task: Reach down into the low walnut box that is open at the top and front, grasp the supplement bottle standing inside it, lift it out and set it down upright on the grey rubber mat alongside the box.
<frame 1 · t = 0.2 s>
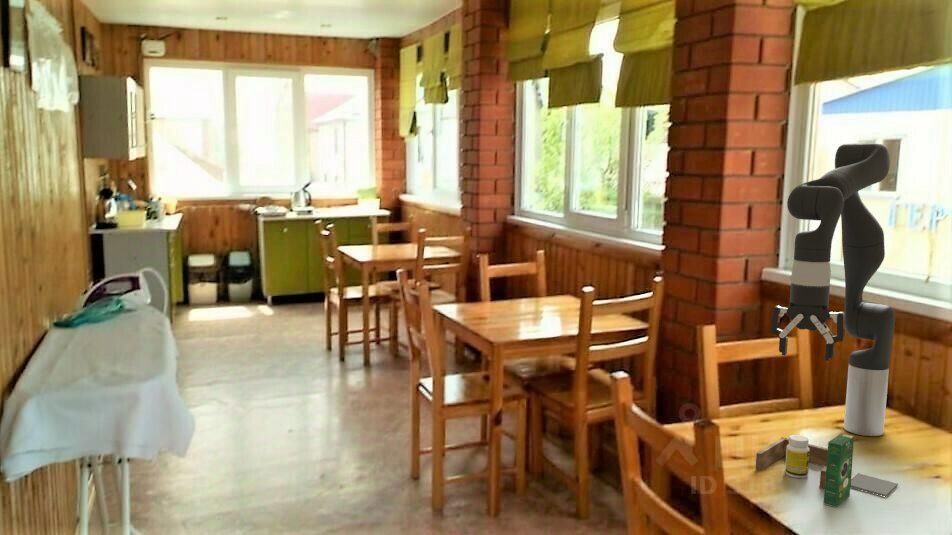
hand: (805, 357, 164), 27 cm above the table, tool pointing down, fingers open, 8 cm apart
grey mat: (871, 486, 165), on the table
open box: (796, 474, 171), on the table
supplement bottle: (796, 475, 171), on the table
coffee box: (836, 500, 158), on the table
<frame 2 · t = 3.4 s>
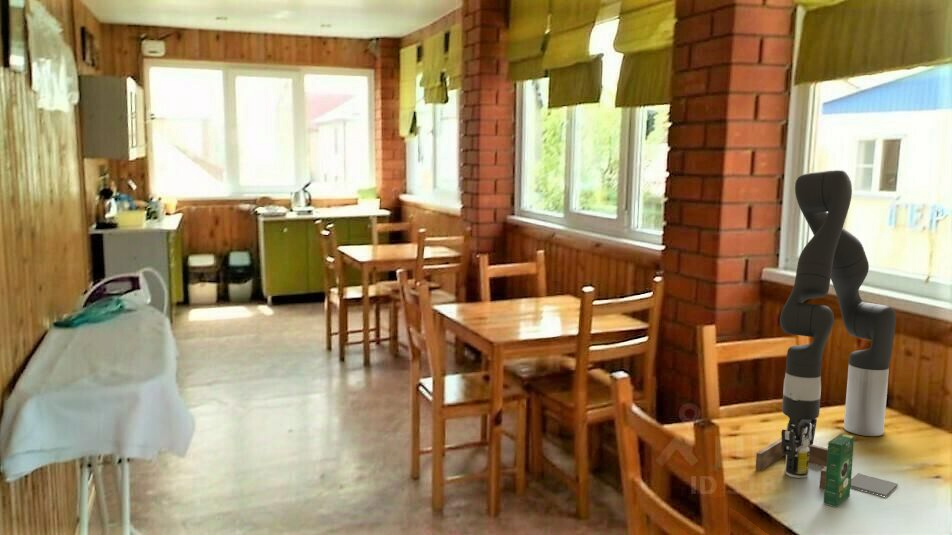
hand: (796, 468, 171), 1 cm above the table, tool pointing down, fingers closed on supplement bottle, 4 cm apart
supplement bottle: (796, 475, 171), on the table, touching gripper
everything else where it was.
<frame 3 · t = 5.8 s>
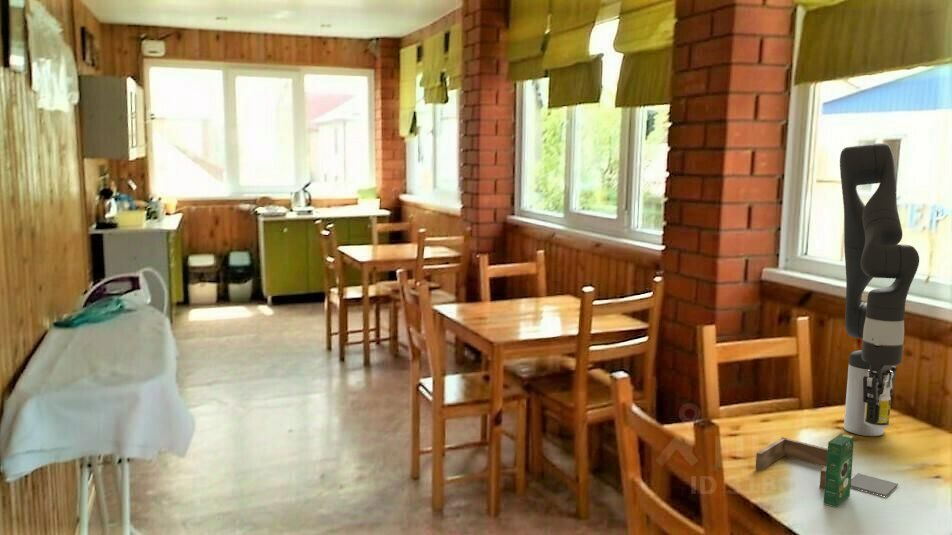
hand: (876, 418, 163), 15 cm above the table, tool pointing down, fingers closed on supplement bottle, 4 cm apart
supplement bottle: (876, 425, 164), point 13 cm above the table, touching gripper
everything else where it was.
when the fingers open (3 cm above the table, at t = 8.7 s): supplement bottle drops 1 cm, resting on grey mat.
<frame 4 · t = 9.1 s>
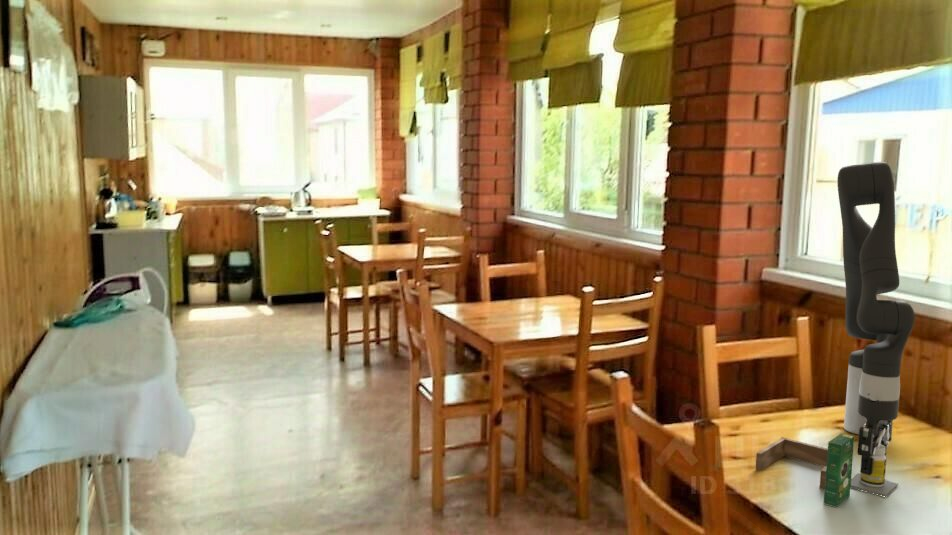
hand: (873, 468, 165), 4 cm above the table, tool pointing down, fingers open, 8 cm apart
supplement bottle: (871, 484, 165), resting on grey mat
everything else where it was.
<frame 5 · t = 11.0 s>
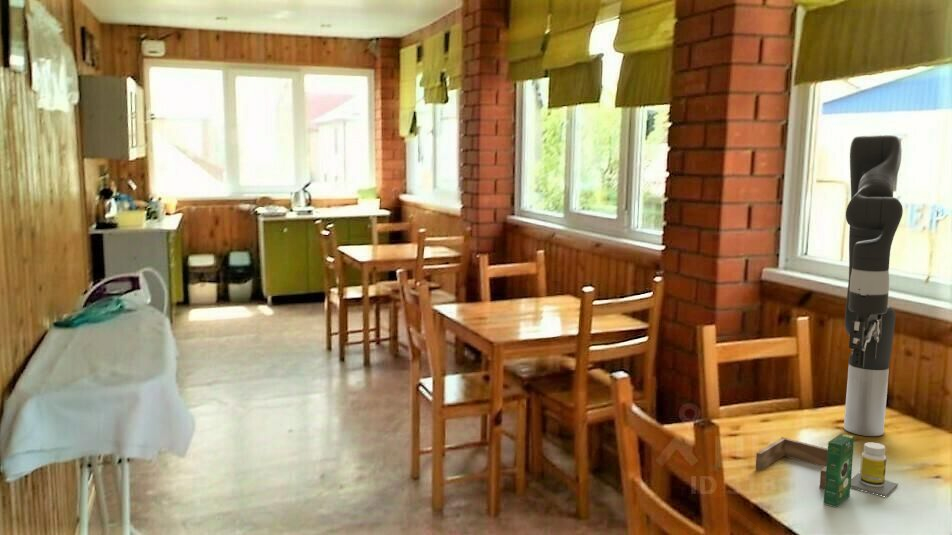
hand: (864, 362, 169), 25 cm above the table, tool pointing down, fingers open, 8 cm apart
nothing on the table moved.
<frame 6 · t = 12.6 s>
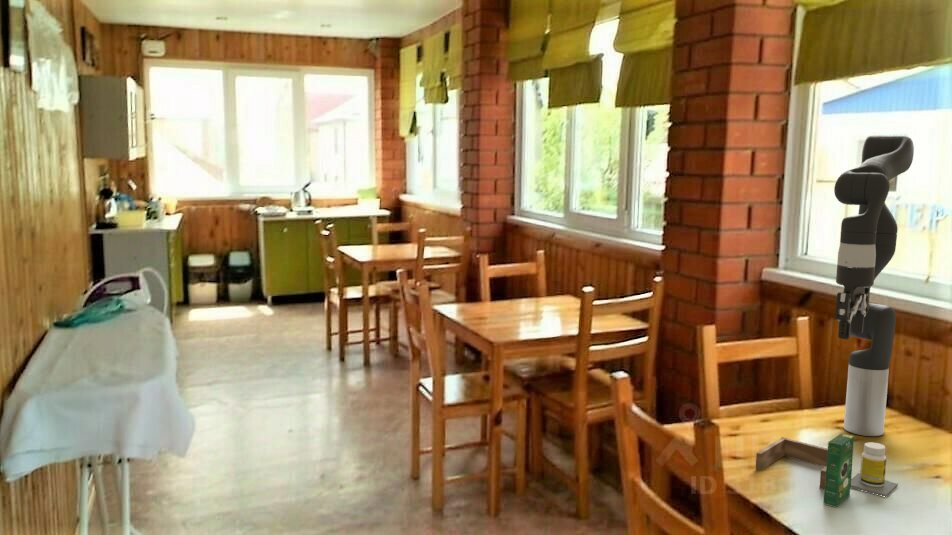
hand: (850, 335, 173), 30 cm above the table, tool pointing down, fingers open, 8 cm apart
nothing on the table moved.
at the end: supplement bottle inside the target area on the grey mat (0.2 cm from its centre), point 0.4 cm above the grey mat's base; supplement bottle tilted 0°; the gripper is holding nothing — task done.
